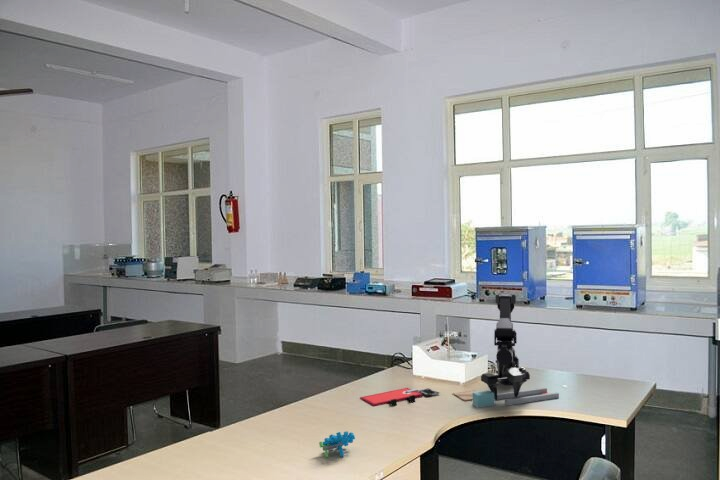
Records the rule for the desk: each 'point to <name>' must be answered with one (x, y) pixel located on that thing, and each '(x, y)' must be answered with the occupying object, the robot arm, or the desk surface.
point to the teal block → (483, 398)
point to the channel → (542, 391)
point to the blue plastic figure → (337, 442)
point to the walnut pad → (465, 395)
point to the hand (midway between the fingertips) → (505, 398)
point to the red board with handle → (397, 396)
